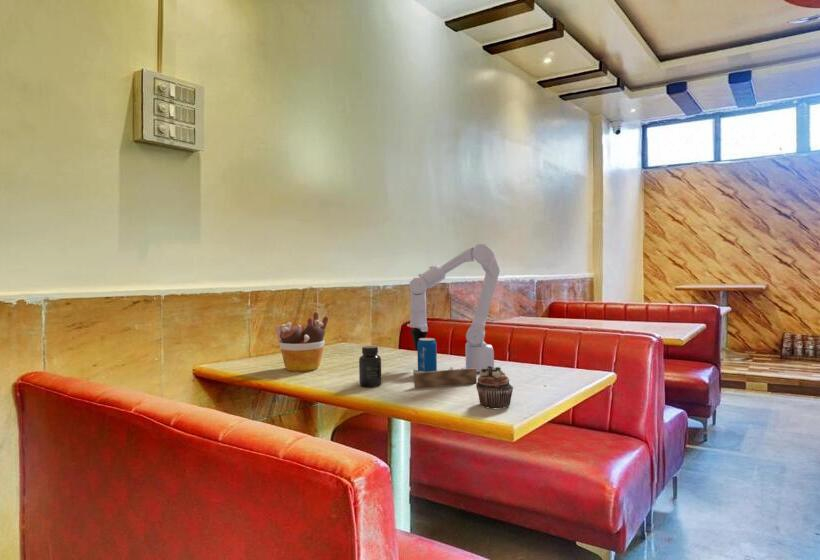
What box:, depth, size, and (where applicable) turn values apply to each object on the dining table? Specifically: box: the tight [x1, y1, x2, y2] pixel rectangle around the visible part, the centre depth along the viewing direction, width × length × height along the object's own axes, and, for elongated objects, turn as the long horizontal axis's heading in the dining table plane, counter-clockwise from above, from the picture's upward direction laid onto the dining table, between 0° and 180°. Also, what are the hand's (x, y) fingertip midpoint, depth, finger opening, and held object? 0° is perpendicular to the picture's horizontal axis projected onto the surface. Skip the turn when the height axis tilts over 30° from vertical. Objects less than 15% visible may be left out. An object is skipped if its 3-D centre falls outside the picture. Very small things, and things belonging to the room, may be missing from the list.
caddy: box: [412, 366, 478, 389], centre depth 174 cm, size 20×13×4 cm, turn 107°
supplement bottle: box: [358, 345, 382, 389], centre depth 169 cm, size 7×7×12 cm
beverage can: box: [416, 337, 438, 372], centre depth 185 cm, size 6×6×12 cm
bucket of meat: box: [274, 312, 329, 373], centre depth 198 cm, size 20×16×20 cm
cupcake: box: [475, 366, 514, 409], centre depth 144 cm, size 10×10×10 cm
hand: (418, 349), depth 194 cm, fingers closed
